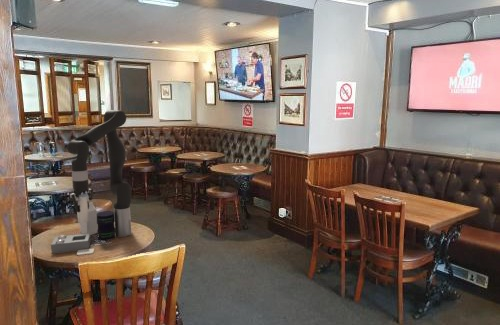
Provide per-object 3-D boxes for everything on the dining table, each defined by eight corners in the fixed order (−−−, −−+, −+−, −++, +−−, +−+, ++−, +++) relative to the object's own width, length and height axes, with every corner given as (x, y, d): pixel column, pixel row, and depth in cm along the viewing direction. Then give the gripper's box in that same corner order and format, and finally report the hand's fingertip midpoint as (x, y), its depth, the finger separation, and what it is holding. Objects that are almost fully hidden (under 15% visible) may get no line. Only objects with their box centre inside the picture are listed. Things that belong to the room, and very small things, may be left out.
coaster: (94, 249, 198) (94, 248, 198) (93, 253, 192) (93, 252, 192) (78, 251, 195) (78, 250, 195) (76, 255, 190) (76, 254, 190)
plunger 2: (64, 248, 198) (63, 239, 197) (63, 250, 195) (62, 241, 194) (58, 249, 197) (57, 239, 196) (57, 251, 194) (56, 241, 193)
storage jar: (115, 233, 222) (114, 210, 219) (115, 239, 212) (113, 215, 210) (98, 235, 218) (96, 211, 216) (97, 241, 209) (95, 216, 207)
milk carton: (98, 232, 224) (96, 203, 220) (87, 236, 218) (85, 205, 215) (91, 230, 227) (89, 201, 224) (80, 233, 221) (78, 203, 218)
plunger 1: (66, 243, 204) (65, 234, 203) (65, 245, 201) (64, 236, 200) (60, 244, 203) (59, 235, 202) (59, 246, 200) (58, 237, 199)
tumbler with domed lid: (83, 219, 195) (81, 190, 192) (91, 220, 193) (89, 191, 190) (75, 222, 189) (72, 193, 187) (83, 223, 187) (81, 194, 185)
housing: (90, 241, 209) (89, 233, 208) (88, 249, 198) (87, 240, 197) (55, 245, 203) (55, 236, 203) (51, 253, 192) (50, 244, 191)
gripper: (74, 182, 179) (77, 215, 182) (96, 177, 193) (98, 207, 195) (63, 181, 182) (65, 213, 185) (85, 175, 195) (87, 206, 198)
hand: (82, 210), depth 190 cm, fingers closed on tumbler with domed lid, 5 cm apart
